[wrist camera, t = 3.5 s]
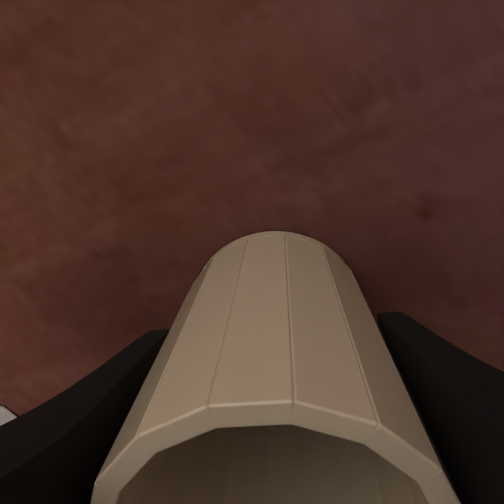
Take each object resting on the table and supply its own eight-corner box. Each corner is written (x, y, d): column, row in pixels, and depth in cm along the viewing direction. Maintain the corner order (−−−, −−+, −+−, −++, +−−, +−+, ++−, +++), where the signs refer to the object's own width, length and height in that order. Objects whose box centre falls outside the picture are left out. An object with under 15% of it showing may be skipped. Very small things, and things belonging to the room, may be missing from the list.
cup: (359, 221, 12) (484, 390, 5) (365, 378, 14) (461, 674, 7) (177, 239, 13) (39, 415, 6) (205, 388, 15) (131, 671, 7)
